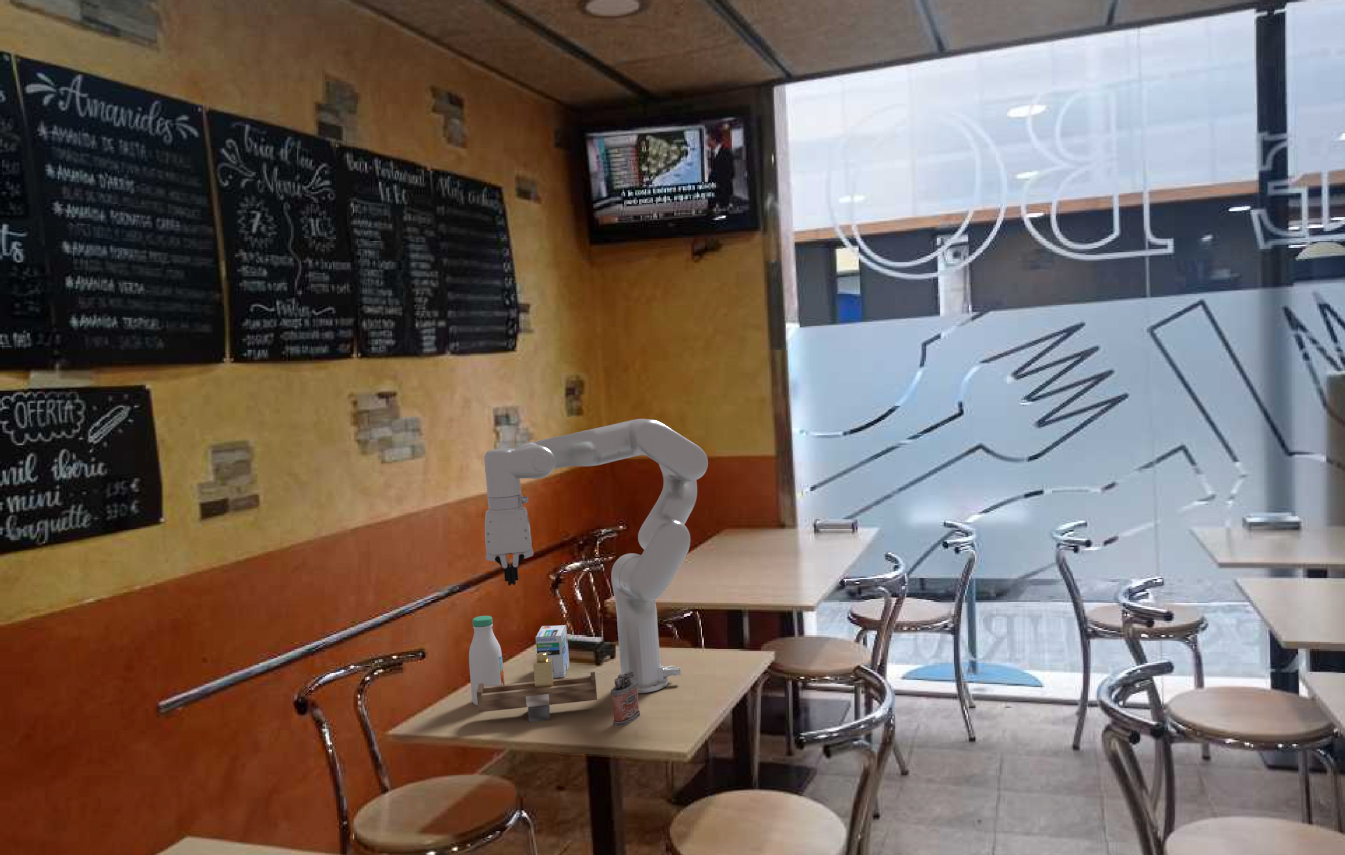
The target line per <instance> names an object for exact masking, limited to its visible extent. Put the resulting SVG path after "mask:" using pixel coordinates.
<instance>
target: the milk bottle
mask: <svg viewBox="0 0 1345 855" xmlns="http://www.w3.org/2000/svg"><path fill="white" fill-rule="evenodd" d="M471 621H472V622H471V623H472V629H474V630H473V637H472V640H471V643H470V646H469V651H468V664H469V676H470V677H469V678H470V680H469V681H470V688H471V689H470V690H471V698H472V699H471V701H472V703H473V705H475V706H477V707H478V701H477V689H478V686H479V684H481V683H484V687H486V686H496V685H506V684H505V675H504V674H505V673H504V672H505V671H504V664H503V654H502V648H501V644H500V643H499V641H498V640H497V638H496V636H495V634H494V630H493V626H494V625H493V621H494V620H493V617H492V616H491V615H480V616H475V617H474V618H473V619H472V620H471Z"/></svg>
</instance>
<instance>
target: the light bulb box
mask: <svg viewBox="0 0 1345 855" xmlns="http://www.w3.org/2000/svg"><path fill="white" fill-rule="evenodd" d="M535 644H536V654H537V653H541V652H546V653H547V657H548V659H549V658H552V671H553V679H554V678H555V679H559V678H565V677H566V675H567V672H568V669H569V668H570V655H569V643H568V631H567V625H566V624H564V625H563V624H562V625H560V624H559V625H541V627H540V628H539V631H538V632H537V635H535Z"/></svg>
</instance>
